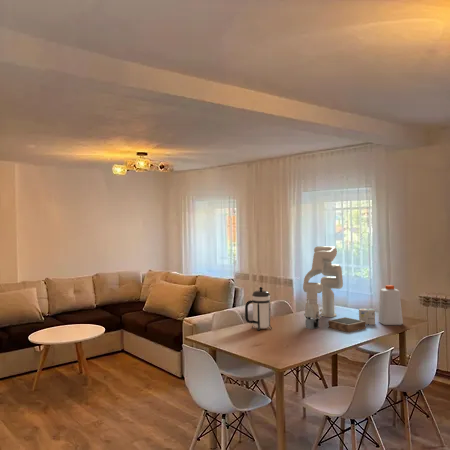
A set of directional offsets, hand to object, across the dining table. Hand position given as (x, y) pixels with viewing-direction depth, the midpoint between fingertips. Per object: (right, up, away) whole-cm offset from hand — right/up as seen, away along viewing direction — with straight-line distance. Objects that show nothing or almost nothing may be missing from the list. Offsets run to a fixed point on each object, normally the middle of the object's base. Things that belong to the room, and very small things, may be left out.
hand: (312, 326), depth 320 cm
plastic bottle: (+59, 0, +9) cm, 60 cm away
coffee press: (-38, -2, -1) cm, 38 cm away
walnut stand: (+24, 0, -3) cm, 24 cm away
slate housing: (0, -1, 0) cm, 1 cm away
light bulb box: (+42, 0, +9) cm, 43 cm away
